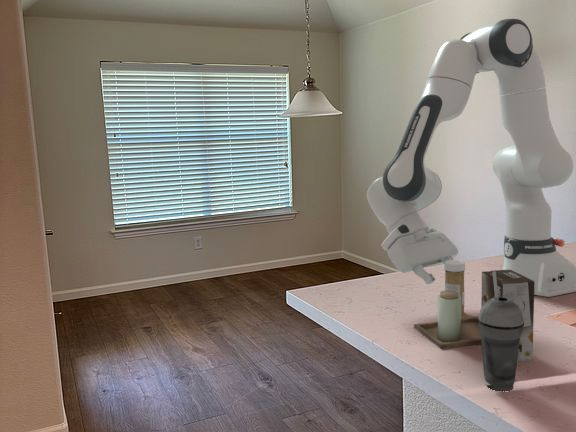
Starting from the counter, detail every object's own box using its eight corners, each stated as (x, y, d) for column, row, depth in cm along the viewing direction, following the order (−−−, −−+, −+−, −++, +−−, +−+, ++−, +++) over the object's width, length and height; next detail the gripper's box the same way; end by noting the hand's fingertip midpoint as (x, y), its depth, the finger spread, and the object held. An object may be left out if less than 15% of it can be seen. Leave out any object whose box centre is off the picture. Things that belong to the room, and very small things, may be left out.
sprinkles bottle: (468, 317, 123) (469, 261, 121) (455, 321, 120) (456, 264, 118) (452, 312, 126) (453, 258, 124) (440, 316, 124) (440, 261, 122)
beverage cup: (518, 400, 84) (522, 280, 81) (472, 390, 88) (473, 275, 85) (525, 381, 91) (528, 269, 88) (481, 372, 94) (483, 265, 91)
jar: (453, 333, 111) (454, 288, 109) (465, 341, 106) (465, 295, 105) (433, 336, 110) (433, 291, 108) (444, 344, 105) (444, 297, 104)
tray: (480, 324, 118) (480, 316, 118) (512, 343, 106) (513, 335, 106) (414, 331, 115) (414, 324, 115) (440, 353, 103) (440, 344, 103)
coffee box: (534, 365, 97) (537, 281, 94) (501, 367, 96) (502, 283, 94) (509, 345, 106) (511, 268, 103) (478, 348, 105) (480, 270, 103)
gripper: (428, 235, 138) (460, 278, 132) (376, 246, 125) (408, 294, 119) (443, 220, 134) (477, 263, 127) (390, 230, 121) (425, 278, 115)
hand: (443, 278), depth 123 cm, fingers open, 8 cm apart
